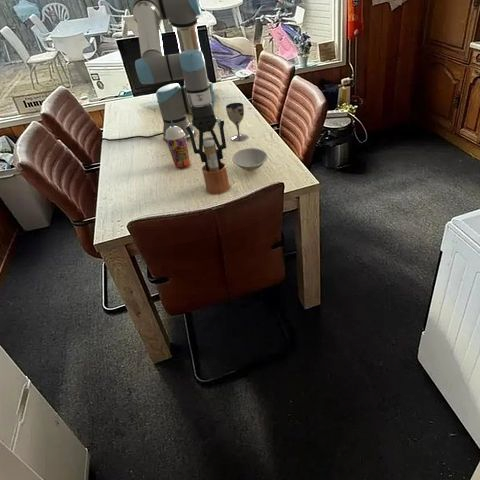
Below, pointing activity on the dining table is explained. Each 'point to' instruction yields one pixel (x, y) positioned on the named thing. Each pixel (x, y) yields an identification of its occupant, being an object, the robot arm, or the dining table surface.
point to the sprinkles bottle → (211, 154)
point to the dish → (249, 158)
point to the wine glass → (236, 117)
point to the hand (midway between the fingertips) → (214, 168)
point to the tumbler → (216, 180)
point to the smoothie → (177, 146)
